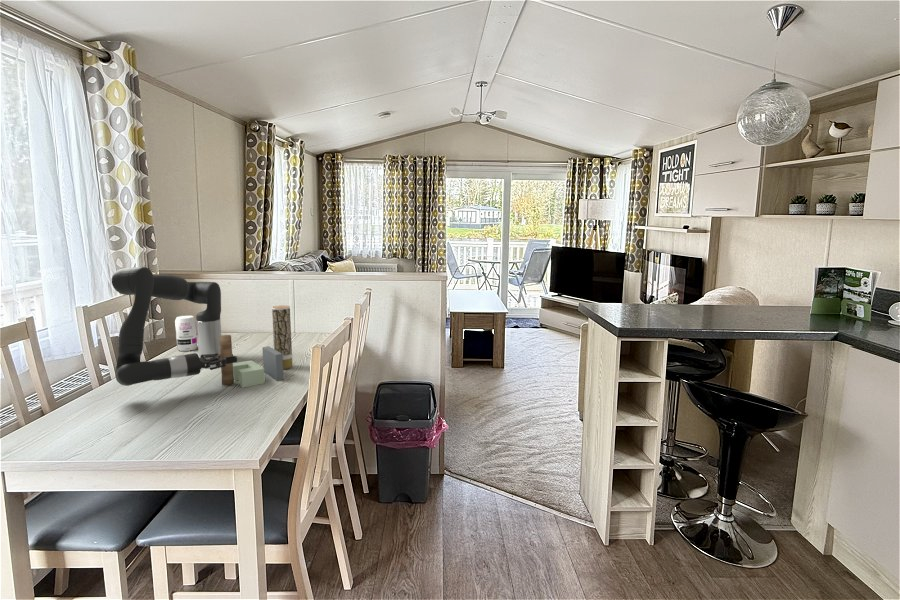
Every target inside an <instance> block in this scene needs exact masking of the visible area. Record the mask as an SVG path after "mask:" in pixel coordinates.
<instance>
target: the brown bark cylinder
mask: <svg viewBox="0 0 900 600" xmlns="http://www.w3.org/2000/svg"><path fill="white" fill-rule="evenodd" d="M271 310H272V311H271V313H272V332H273V333H272V334H273V349H275V350H276V351H278V352H280V353H282V359H283V370H288V369H291V368H292V367H293V347H292V346H293V345H292V321H291V306H290V305H285V304H284V305H283V304H281V305H274V306H272V307H271Z"/></svg>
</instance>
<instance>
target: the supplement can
mask: <svg viewBox="0 0 900 600" xmlns="http://www.w3.org/2000/svg"><path fill="white" fill-rule="evenodd" d="M174 324H175V339H176V349H177V350H178V351H179V350H180V352H190V350H192V351H194V350H196V349H198V336H197V322H196V317H194V315H179V316H176V318H175V320H174Z"/></svg>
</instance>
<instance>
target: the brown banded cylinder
mask: <svg viewBox="0 0 900 600" xmlns="http://www.w3.org/2000/svg"><path fill="white" fill-rule="evenodd" d="M219 343H220V358H226V357H232V354H233V344H232V335H231V334H221V336H219ZM220 363H222V362H220ZM220 370H221V373H220V374H221V384H222V386H225V387H231V386H233V385H235V381H234V374H233V363H229V364H226V366H225V367H221V368H220Z"/></svg>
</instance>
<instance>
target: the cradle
mask: <svg viewBox="0 0 900 600" xmlns="http://www.w3.org/2000/svg"><path fill="white" fill-rule="evenodd" d="M233 374H234V382H235V381H238V385H239V386H240V387H242V388H247V387H252V386H257V385H262V384H266V379H265V376H266V375H265V372H264V367H262V366H261V365H259V364H258V363H256V362H254V361H253V360H252V359H251V360H245V361H239V362H238V361H237V362H235V363H233Z"/></svg>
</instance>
